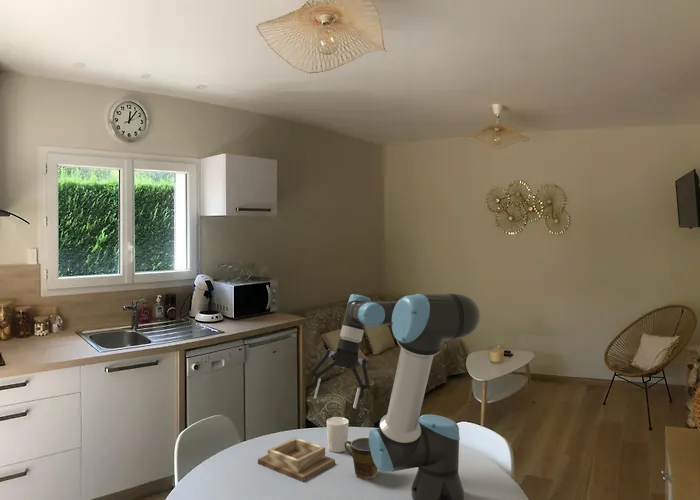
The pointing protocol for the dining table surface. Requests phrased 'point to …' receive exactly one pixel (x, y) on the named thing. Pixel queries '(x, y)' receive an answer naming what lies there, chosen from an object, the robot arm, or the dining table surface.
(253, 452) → the dining table surface
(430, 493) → the robot arm
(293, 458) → the tray
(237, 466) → the dining table surface
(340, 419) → the white cup
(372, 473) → the ceramic cup
